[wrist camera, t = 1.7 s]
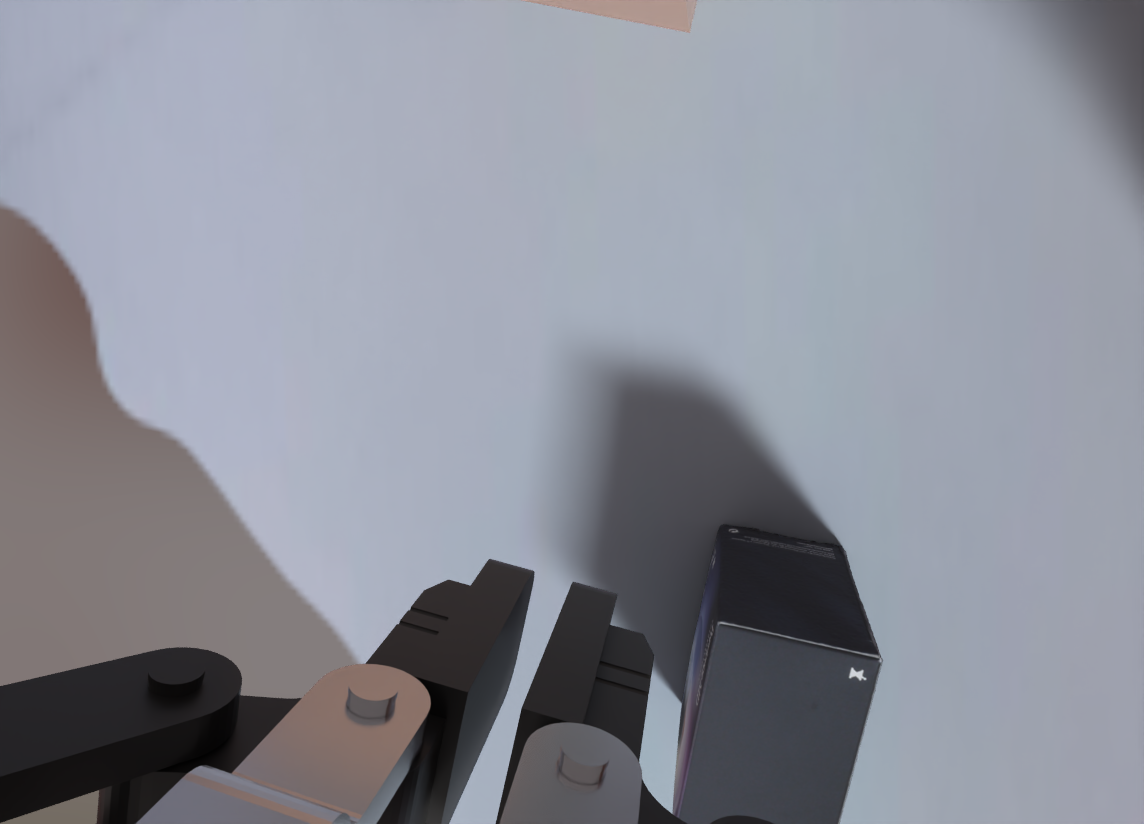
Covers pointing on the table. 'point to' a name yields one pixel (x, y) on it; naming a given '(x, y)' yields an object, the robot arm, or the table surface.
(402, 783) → the robot arm
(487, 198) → the table surface
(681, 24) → the peach rectangular block
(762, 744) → the small box
